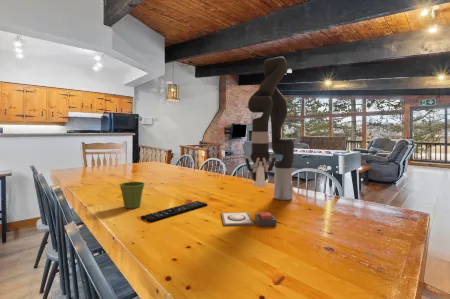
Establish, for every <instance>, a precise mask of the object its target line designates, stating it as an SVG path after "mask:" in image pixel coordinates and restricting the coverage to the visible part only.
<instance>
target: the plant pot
mask: <svg viewBox="0 0 450 299" xmlns="http://www.w3.org/2000/svg"><path fill="white" fill-rule="evenodd" d="M145 185H146V183H145V182H143V181H128V182H127V181H126V182H122V183H119V184H118V186H119V187H120V191H121V195H122V201H123V202H122V203H123V206H124V208H125V209H138V208H139V207H141V204H142V203H141V202H142V196H143V190H144V188H145Z"/></svg>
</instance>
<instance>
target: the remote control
mask: <svg viewBox="0 0 450 299" xmlns="http://www.w3.org/2000/svg"><path fill="white" fill-rule="evenodd" d="M205 207H208V203H205V202H203V201H199V200H195V201H191V202H188V203H185V204H181V205H177V206H173V207H169V208H165V209H162V210H159V211H155V212H151V213H147V214H144V215H141V216H140V219H141V220H143V221H145V222H148V223H150V224H151V223H152V224H153V223H155V222H158V221H161V220H166V219H168V218H171V217H175V216H178V215H181V214H185V213H189V212H191V211H195V210H198V209H202V208H205Z"/></svg>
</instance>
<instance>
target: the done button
mask: <svg viewBox="0 0 450 299" xmlns="http://www.w3.org/2000/svg"><path fill="white" fill-rule="evenodd" d="M258 214H259V217H260V219H272V215H273V214H272V213H271V212H269V211H261V212H260V211H259V212H258ZM271 214H272V215H271Z"/></svg>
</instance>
